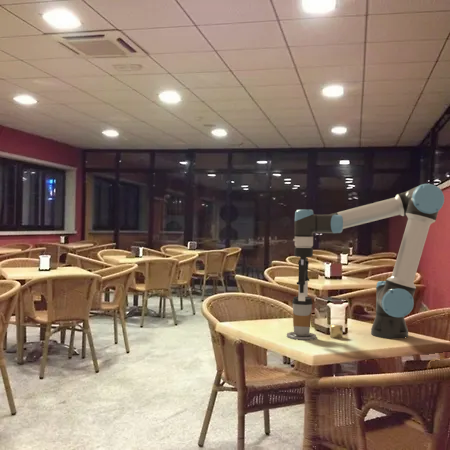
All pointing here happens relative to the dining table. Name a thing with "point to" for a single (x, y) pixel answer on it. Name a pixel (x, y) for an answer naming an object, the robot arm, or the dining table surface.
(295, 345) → the dining table surface
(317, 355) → the dining table surface
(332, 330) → the brass coupling
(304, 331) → the coffee cup
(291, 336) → the flange plate
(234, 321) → the dining table surface
